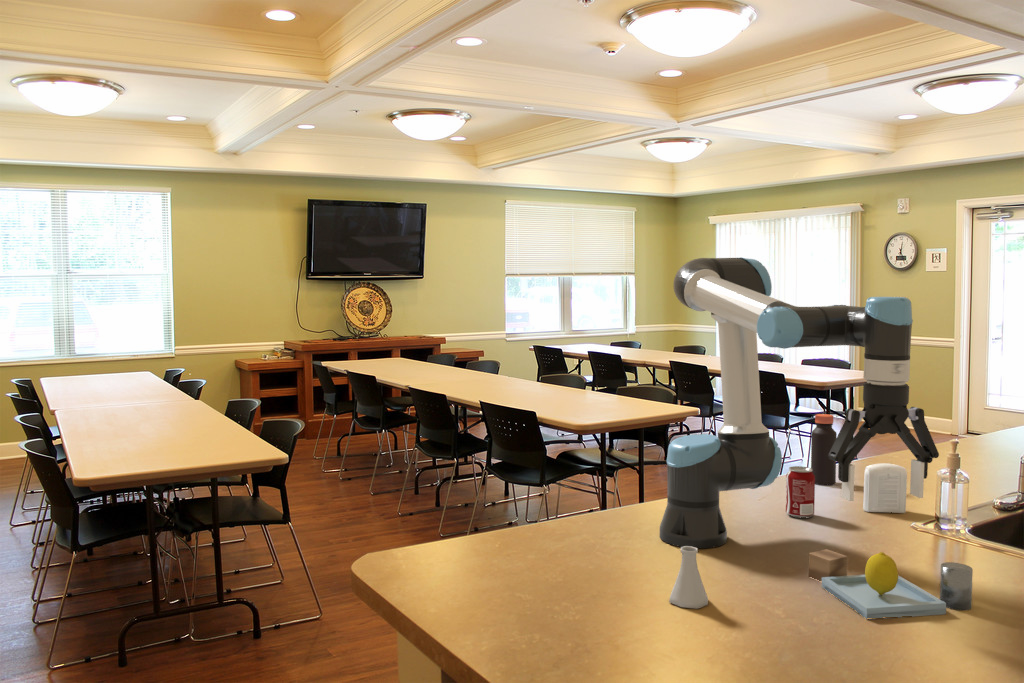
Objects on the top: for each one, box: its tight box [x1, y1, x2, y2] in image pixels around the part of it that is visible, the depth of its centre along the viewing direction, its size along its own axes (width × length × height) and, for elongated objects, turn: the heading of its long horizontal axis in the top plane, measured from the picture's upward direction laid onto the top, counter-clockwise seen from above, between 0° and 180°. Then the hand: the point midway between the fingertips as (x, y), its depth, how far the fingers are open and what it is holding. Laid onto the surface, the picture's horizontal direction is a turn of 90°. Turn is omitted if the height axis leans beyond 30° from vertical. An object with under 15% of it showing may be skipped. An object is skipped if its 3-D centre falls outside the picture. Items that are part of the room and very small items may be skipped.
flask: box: [668, 546, 709, 609], centre depth 146 cm, size 7×7×10 cm
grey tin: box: [939, 561, 974, 611], centre depth 144 cm, size 5×5×7 cm
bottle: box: [810, 413, 838, 486], centre depth 233 cm, size 7×7×20 cm
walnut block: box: [808, 548, 848, 582], centre depth 157 cm, size 5×5×5 cm
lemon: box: [864, 551, 899, 595], centre depth 146 cm, size 6×6×8 cm
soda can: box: [785, 465, 816, 519], centre depth 200 cm, size 7×7×12 cm
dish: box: [821, 574, 947, 620], centre depth 146 cm, size 15×15×2 cm
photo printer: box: [862, 462, 908, 514], centre depth 203 cm, size 10×4×12 cm, turn 84°
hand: (882, 497), depth 145 cm, fingers open, 13 cm apart
